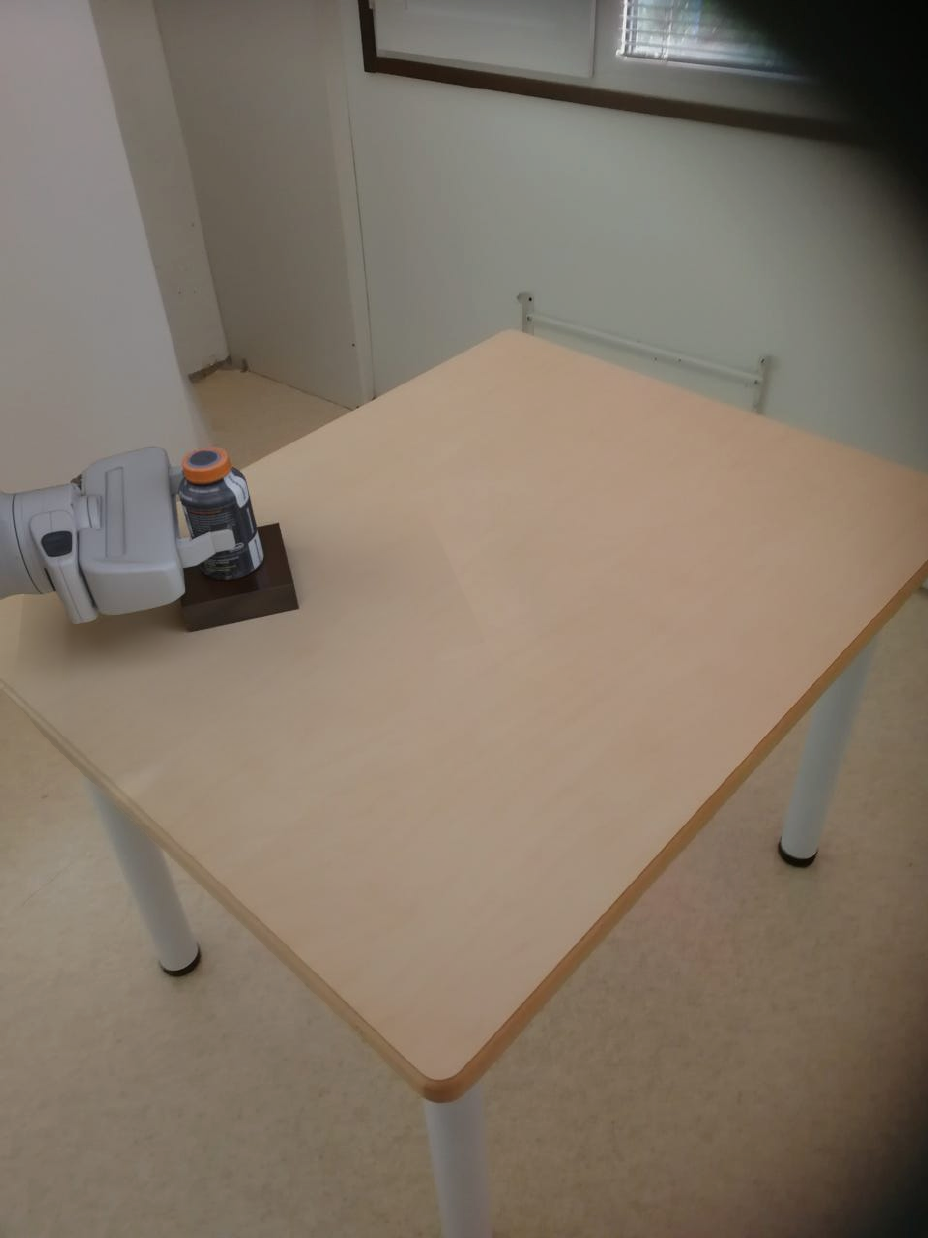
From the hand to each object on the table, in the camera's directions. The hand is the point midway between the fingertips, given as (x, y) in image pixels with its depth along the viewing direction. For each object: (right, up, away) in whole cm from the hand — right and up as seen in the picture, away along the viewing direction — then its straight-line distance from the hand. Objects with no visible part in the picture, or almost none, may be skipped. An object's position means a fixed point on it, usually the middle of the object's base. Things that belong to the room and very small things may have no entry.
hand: (228, 505), depth 85 cm
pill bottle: (-1, -5, +4) cm, 6 cm away
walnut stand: (0, -7, +6) cm, 9 cm away
